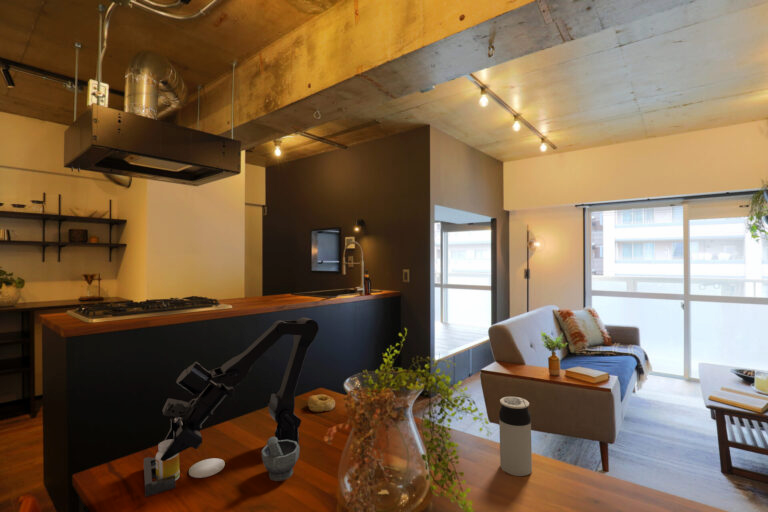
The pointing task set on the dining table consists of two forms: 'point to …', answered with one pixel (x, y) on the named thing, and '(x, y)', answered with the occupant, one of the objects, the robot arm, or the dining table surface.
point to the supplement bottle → (166, 463)
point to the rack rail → (156, 485)
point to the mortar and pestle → (280, 458)
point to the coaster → (206, 468)
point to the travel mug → (515, 436)
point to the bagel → (321, 403)
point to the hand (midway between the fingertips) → (161, 455)
